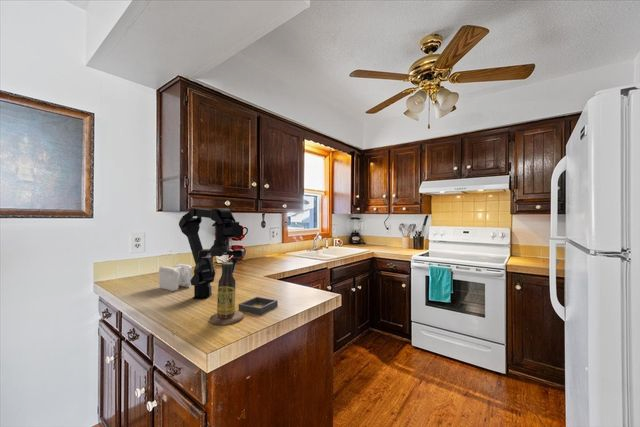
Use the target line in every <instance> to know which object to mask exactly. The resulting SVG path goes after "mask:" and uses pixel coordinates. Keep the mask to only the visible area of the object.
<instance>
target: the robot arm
mask: <svg viewBox="0 0 640 427" xmlns="http://www.w3.org/2000/svg"><path fill="white" fill-rule="evenodd" d="M203 218H207V219H210V220H211V221H213V222H214V223H212V225H211V227H214V238H215V239H214V240H213V245H212V246H211V247H210V248H203V245H202V242H201V239H200V236H199V231H200V228H201V226H200V224H201V223H202V222H203V220H202V219H203ZM178 227H179V228H180V232H181V233H182V234H183V235H185V236H186V237H187V240H188V244H189V247H190V250H191V255H192V256H193V260H194V264H195V266H194V270H193V275H192V279H191V280H190V281H191V285H192V286H194V288H193V289H194V296H193V297H192V299H193V300H196V299H197V300H200V299H203V300H204V299H208V298H210V296H212V295H213V294H212V285H211V283H214V280H215V277H216V269H215V266H214V257H219V258H221V257H223V256H233V257H232V258H231V260H232V263H233V274H234V273H235V270H236V267H237V264H238V262H239V260H240V259H241V258H243V257H244V256H246V250H245V248H236V249H234V250H231V248H230V242H231V238H232V239H239V238H241V237H242V236H243V234H244V229H243V226H242V225H241V224H240V221H236V219H235V218H234V215H233V213H232V211H231V209H230V208H228V207H227V208H226V207H225V208H224V207H223V208H222V207H221V208H218V207H217V208H212V209H208V208H202V207H192V208H191V209H190V210H189V211H188V212H187V213H185V214H183V216H181V218H180V220H179V221H178Z"/></svg>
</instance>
